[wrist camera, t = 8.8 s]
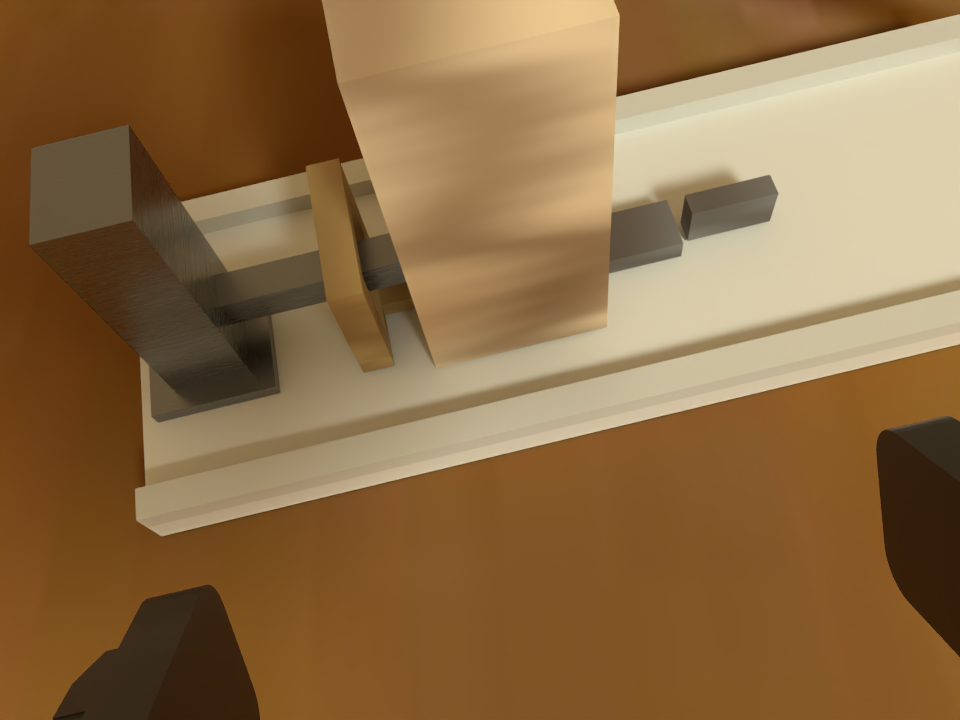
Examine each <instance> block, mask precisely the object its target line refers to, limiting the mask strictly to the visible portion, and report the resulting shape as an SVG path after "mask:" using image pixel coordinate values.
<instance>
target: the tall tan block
mask: <svg viewBox="0 0 960 720" xmlns="http://www.w3.org/2000/svg"><path fill="white" fill-rule="evenodd" d="M322 4H323V9H324V14H325V19H326V25H327V30H328V35H329V41H330V46H331V51H332V57H333V62H334V67H335V73H336V78H337V83H338V86H339V89H340V92H341V95H342V98H343V101H344V104H345V106H346V109H347V112H348V115H349V118H350V121H351V124H352V127H353V130H354V132H355V135H356V138H357V141H358V144H359V147H360V150H361V153H362V156H363V158H364V161H365V164H366V167H367V170H368V173H369V176H370V179H371V182H372V184H373V187H374V190H375V193H376V196H377V199H378V202H379V205H380V208H381V210H382V213H383V216H384V219H385V222H386V225H387V228H388V231H389V233H390V236H391V239H392V242H393V245H394V248H395V251H396V254H397V257H398V259H399V262H400V265H401V268H402V271H403V274H404V277H405V280H406V283H402V284H398V285H394V286H389V287H385V288H381V289H377V290H373V291H368V288H367V286H366V284H365V281H364V279H363V275H362V269H361V264H360V258H359V253H358V247H357V242H356V241H359V240H363V239H367V238H369V236H368V233H367V231H366V228H365V225H364V223H363V220H362V218H361V215H360V212H359V210H358V207H357V205H356V202H355V199H354V197H353V194H352V192H351V189H350V186H349V184H348V181H347V179H346V176H345V173H344V171H343V168H342V166H341V163H340V160H339V158H337V159H333V160H329V161H325V162H321V163H317V164H312V165H308V166H306V172H307V179H308V185H309V191H310V198H311V204H312V211H313V217H314V223H315V230H316V236H317V242H318V249H319V255H320V262H321V268H322V274H323V281H324V287H325V293H326V300H327V303H328V305H329V307H330V309H331V311H332V313H333V315H334V317H335V318H336V320H337V322H338V324H339V326H340V328H341V330H342V332H343V334H344V336H345V338H346V340H347V342H348V344H349V345H350V347H351V349H352V351H353V353H354V355H355V357H356V359H357V361H358V363H359V365H360V367H361V369H362V371H363V372H364V373H366V372H370V371H374V370H378V369H382V368H387V367H391V366H395V364H394V359H393V354H392V349H391V343H390V338H389V333H388V328H387V322H386V317H385V315H388V314H392V313H396V312H400V311H404V310H409V309H413V308H415V309H416V311H417V314H418V317H419V320H420V323H421V326H422V329H423V332H424V335H425V337H426V340H427V343H428V346H429V349H430V352H431V355H432V358H433V361H434V363H435V366H436V368H440V367H444V366H448V365H452V364H456V363H460V362H465V361H469V360H473V359H477V358H481V357H485V356H490V355H494V354H498V353H502V352H506V351H510V350H514V349H519V348H523V347H527V346H531V345H535V344H539V343H543V342H548V341H552V340H556V339H560V338H564V337H568V336H573V335H577V334H581V333H585V332H589V331H593V330H597V329H602V328H606V327H607V309H608V284H609V273H613V272H618V271H622V270H626V269H630V268H634V267H638V266H642V265H647V264H651V263H655V262H659V261H663V260H667V259H672V258H676V257H680V256H681V254H682V249H683V241H682V238H681V236H680V233H679V230H678V228H677V225H676V223H675V220H674V217H673V215H672V212H671V210H670V207H669V204H668V202H667V200H663V201H659V202H655V203H651V204H647V205H642V206H638V207H634V208H630V209H626V210H622V211H617V212H613V213H611V212H612V188H613V163H614V139H615V115H616V91H617V67H618V42H619V18H620V15H619V13H618V10H617V8H616V5H615V3H614V0H322ZM777 197H778V191H777V189H776V187H775V184H774V182H773V180H772V178H771V176H770V175H766V176H762V177H758V178H754V179H750V180H745V181H741V182H737V183H733V184H729V185H725V186H721V187H716V188H712V189H708V190H704V191H700V192H696V193H691V194H687V195H685V198H684V204H683V210H682V216H681V225H682V228H683V230H684V233H685V235H686V238H687V241H690V240H694V239H698V238H702V237H706V236H710V235H714V234H719V233H723V232H727V231H731V230H735V229H739V228H744V227H748V226H752V225H756V224H760V223H764V222H768V221H770V219H771V216H772V212H773V209H774V206H775V203H776V200H777Z"/></svg>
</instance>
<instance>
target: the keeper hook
mask: <svg viewBox="0 0 960 720" xmlns="http://www.w3.org/2000/svg"><path fill="white" fill-rule="evenodd" d="M356 242H357V247H358V253H359V258H360V264H361V269H362V275H363V279H364V281H365V284H366V286H367V288H368V291H373V290H377V289H381V288H385V287H389V286H394V285H398V284H402V283H406V280H405V277H404V274H403V271H402V268H401V265H400V262H399V259H398V257H397V254H396V251H395V248H394V245H393V242H392V239H391V236H390V233H388V234H384V235H379V236H375V237H371V238H367V239H363V240H359V241H356ZM29 246H30V247H31V248H32V249H33V250H34V251H35V252H36V253H37V254H38V255H39V256H40V257H41V258H42V259H43V260H44V261H45V262H46V263H47V264H48V265H49V266H50V267H51V268H52V269H53V270H54V271H55V272H56V273H57V274H58V275H59V276H60V277H61V278H62V279H63V280H64V281H65V282H66V283H67V284H68V285H69V286H70V287H71V288H72V289H73V290H74V291H75V292H76V293H77V294H78V295H79V296H80V297H81V298H82V299H83V300H84V301H85V302H86V303H87V304H88V305H89V306H90V307H91V308H92V309H93V310H94V311H95V312H96V313H97V314H98V315H99V316H100V317H101V318H102V319H103V320H104V321H105V322H106V323H107V324H108V325H109V326H110V327H111V328H112V329H113V330H114V331H115V332H116V333H117V334H118V335H119V336H120V337H121V338H122V339H123V340H124V341H125V342H126V343H127V344H128V345H129V346H130V347H131V348H132V349H133V350H134V351H135V352H136V353H137V354H138V355H139V356H140V357H141V358H142V359H143V360H144V361H145V362H146V363H147V364H148V365H149V378H150V399H151V417H152V418H154V419H155V420H156V421H157V422H158V423H159V422H163V421H167V420H171V419H175V418H179V417H184V416H188V415H192V414H196V413H200V412H204V411H208V410H213V409H217V408H221V407H225V406H229V405H233V404H237V403H242V402H246V401H250V400H254V399H258V398H262V397H267V396H271V395H275V394H279V393H281V392H280V383H279V375H278V367H277V359H276V351H275V343H274V334H273V326H272V318H271V315H273V314H277V313H281V312H286V311H290V310H294V309H298V308H302V307H306V306H310V305H315V304H319V303H323V302H327V300H326V293H325V287H324V281H323V274H322V268H321V262H320V255H319V250H317V251H313V252H309V253H305V254H301V255H296V256H292V257H288V258H284V259H280V260H276V261H271V262H267V263H263V264H259V265H255V266H251V267H247V268H242V269H238V270H234V271H230V272H228V271H227V270H226V268H225V267H224V265H223V264H222V262H221V261H220V259H219V258H218V256H217V255H216V253H215V252H214V250H213V249H212V247H211V246H210V244H209V243H208V241H207V240H206V238H205V237H204V235H203V234H202V232H201V231H200V230H199V228H198V227H197V225H196V224H195V222H194V221H193V219H192V218H191V216H190V215H189V213H188V212H187V210H186V209H185V207H184V206H183V204H182V203H181V201H180V200H179V198H178V197H177V195H176V194H175V192H174V191H173V190H172V188H171V187H170V185H169V184H168V182H167V181H166V179H165V178H164V176H163V175H162V173H161V172H160V170H159V169H158V167H157V166H156V164H155V163H154V161H153V160H152V158H151V157H150V155H149V154H148V152H147V151H146V149H145V148H144V147H143V145H142V144H141V142H140V141H139V139H138V138H137V136H136V135H135V133H134V132H133V130H132V129H131V127H130V126H129V124H128V125H124V126H120V127H116V128H112V129H108V130H103V131H99V132H95V133H91V134H87V135H83V136H78V137H74V138H70V139H66V140H62V141H58V142H54V143H49V144H45V145H41V146H37V147H33V148H31V177H30V220H29Z"/></svg>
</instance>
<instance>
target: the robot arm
mask: <svg viewBox="0 0 960 720" xmlns="http://www.w3.org/2000/svg"><path fill="white" fill-rule="evenodd" d="M876 451H877V464H878V476H879V487H880V498H881V510H882V521H883V532H884V543H885V551H886V556H887V560H888V563H889V567H890V569H891V572H892V575H893V577H894V579H895V581H896V583H897V585H898V587H899V589H900V591H901V592H902V594H903V595H904V597H905V598H906V599H907V601H908V602H909V603H910V604H911V605H912V606H913V607H914V608H915V609H916V610H917V611H918V612H919V614H920V615H921V616H922V617H923V618H924V619H925V620H926V621H927V622H928V623H929V624H930V625H931V626H932V628H933V629H934V630H935V631H936V632H937V633H938V634H939V635H940V636H941V637H942V638H943V639H944V640H945V642H946V643H947V644H948V645H949V646H950V647H951V648H952V649H953V650H954V651H955V652H956V653H957V654H958V655H959V657H960V422H959V421H958V420H956V419H954V418H952V417H949V416H944V417H939V418H935V419H931V420H926V421H922V422H918V423H913V424H909V425H905V426H900V427H896V428H892V429H887V430H884V431H882V432H881V433H880V435H879V437H878V440H877V448H876ZM53 720H260V715H259V708H258V703H257V698H256V694H255V691H254V688H253V685H252V682H251V679H250V677H249V674H248V671H247V668H246V666H245V663H244V660H243V657H242V655H241V652H240V649H239V646H238V643H237V641H236V638H235V635H234V632H233V630H232V627H231V624H230V621H229V619H228V616H227V613H226V610H225V607H224V605H223V602H222V600H221V598H220V596H219V594H218V592H217V591H216V589H215V588H214V587H212V586H211V585H204V586H200V587H196V588H191V589H187V590H183V591H178V592H174V593H170V594H165V595H161V596H157V597H152V598H148V599H146V600H145V601H144V602H143V603H142V604H141V606H140V608H139V610H138V612H137V614H136V615H135V617H134V619H133V621H132V623H131V625H130V627H129V629H128V631H127V633H126V635H125V637H124V638H123V640H122V642H121V644H120V646H119V648H118V649H114V650H109V651H106V652H105V653H104V654H103V655H102V656H101V657H100V658H99V659H98V660H97V661H96V662H95V663H93V664H92V665H91V666H90V667H89V668H88V669H87V670H86V671H85V672H84V673H83V674H82V675H81V676H80V677H79V678H78V679H77V680H76V681H75V682H74V683H73V684H72V685H71V687H70V689H69V691H68V692H67V694H66V696H65V698H64V699H63V701H62V703H61V705H60V707H59V708H58V710H57V712H56V714H55V715H54V717H53Z"/></svg>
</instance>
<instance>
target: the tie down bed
mask: <svg viewBox="0 0 960 720" xmlns="http://www.w3.org/2000/svg"><path fill="white" fill-rule="evenodd" d="M341 166H342V168H343V171H344V173H345V176H346V179H347V181H348V184H349V186H350V189H351V192H352V194H353V197H354V199H355V202H356V205H357V207H358V210H359V212H360V215H361V218H362V220H363V223H364V225H365V228H366V231H367V233H368V236H369V238H371V237H375V236H379V235H384V234H388V233H389V231H388V228H387V225H386V222H385V219H384V216H383V213H382V210H381V208H380V205H379V202H378V199H377V196H376V193H375V190H374V187H373V184H372V182H371V179H370V176H369V173H368V170H367V167H366V164H365V161H364V158H362V159H357V160H353V161H349V162H345V163H341ZM766 175H770V176H771V178H772V180H773V182H774V184H775V187H776V189H777V191H778V197H777V200H776V203H775V206H774V209H773V212H772V216H771V219H770V221H768V222H764V223H760V224H756V225H752V226H748V227H744V228H739V229H735V230H731V231H727V232H723V233H719V234H714V235H710V236H706V237H702V238H698V239H694V240H690V241H687V238H686V235H685V233H684V230H683V228H682V225H681V216H682V210H683V204H684V198H685V195H687V194H691V193H696V192H700V191H704V190H708V189H712V188H716V187H721V186H725V185H729V184H733V183H737V182H741V181H745V180H750V179H754V178H758V177H762V176H766ZM663 200H667V202H668V204H669V207H670V210H671V212H672V215H673V217H674V220H675V223H676V225H677V228H678V230H679V233H680V236H681V238H682V241H683V249H682V254H681V256H680V257H676V258H672V259H667V260H663V261H659V262H655V263H651V264H647V265H642V266H638V267H634V268H630V269H626V270H622V271H618V272H613V273H609V284H608V309H607V327H606V328H602V329H597V330H593V331H589V332H585V333H581V334H577V335H573V336H568V337H564V338H560V339H556V340H552V341H548V342H543V343H539V344H535V345H531V346H527V347H523V348H519V349H514V350H510V351H506V352H502V353H498V354H494V355H490V356H485V357H481V358H477V359H473V360H469V361H465V362H460V363H456V364H452V365H448V366H444V367H440V368H436V366H435V363H434V361H433V358H432V355H431V352H430V349H429V346H428V343H427V340H426V337H425V335H424V332H423V329H422V326H421V323H420V320H419V317H418V314H417V311H416V309H415V308H413V309H409V310H404V311H400V312H396V313H392V314H388V315H385V317H386V322H387V328H388V333H389V338H390V343H391V349H392V354H393V359H394V364H395V366H391V367H387V368H382V369H378V370H374V371H370V372H366V373H364V372H363V371H362V369H361V367H360V365H359V363H358V361H357V359H356V357H355V355H354V353H353V351H352V349H351V347H350V345H349V344H348V342H347V340H346V338H345V336H344V334H343V332H342V330H341V328H340V326H339V324H338V322H337V320H336V318H335V317H334V315H333V313H332V311H331V309H330V307H329V305H328V303H327V302H323V303H319V304H315V305H310V306H306V307H302V308H298V309H294V310H290V311H286V312H281V313H277V314H273V315H271V318H272V326H273V334H274V343H275V351H276V359H277V367H278V375H279V383H280V392H281V393H279V394H275V395H271V396H267V397H262V398H258V399H254V400H250V401H246V402H242V403H237V404H233V405H229V406H225V407H221V408H217V409H213V410H208V411H204V412H200V413H196V414H192V415H188V416H184V417H179V418H175V419H171V420H167V421H163V422H159V423H158V422H157V421H156V420H155V419H154V418H152V417H151V399H150V378H149V365H148V364H147V363H146V362H145V361H144V360H143V359H142V358H141V357H140V370H141V393H142V416H143V439H144V462H145V486H144V487H140V488H136V489H135V503H136V521H138V522H139V523H141V524H142V525H144V526H146V527H147V528H149V529H150V530H152V531H154V532H155V533H157V534H158V535H160V536H165V535H169V534H173V533H177V532H182V531H186V530H190V529H194V528H198V527H202V526H207V525H211V524H215V523H219V522H223V521H227V520H231V519H236V518H240V517H244V516H248V515H252V514H256V513H261V512H265V511H269V510H273V509H277V508H281V507H285V506H290V505H294V504H298V503H302V502H306V501H310V500H315V499H319V498H323V497H327V496H331V495H335V494H339V493H344V492H348V491H352V490H356V489H360V488H364V487H368V486H373V485H377V484H381V483H385V482H389V481H393V480H398V479H402V478H406V477H410V476H414V475H418V474H422V473H427V472H431V471H435V470H439V469H443V468H447V467H452V466H456V465H460V464H464V463H468V462H472V461H476V460H481V459H485V458H489V457H493V456H497V455H501V454H506V453H510V452H514V451H518V450H522V449H526V448H530V447H535V446H539V445H543V444H547V443H551V442H555V441H559V440H564V439H568V438H572V437H576V436H580V435H584V434H589V433H593V432H597V431H601V430H605V429H609V428H613V427H618V426H622V425H626V424H630V423H634V422H638V421H643V420H647V419H651V418H655V417H659V416H663V415H667V414H672V413H676V412H680V411H684V410H688V409H692V408H697V407H701V406H705V405H709V404H713V403H717V402H721V401H726V400H730V399H734V398H738V397H742V396H746V395H750V394H755V393H759V392H763V391H767V390H771V389H775V388H780V387H784V386H788V385H792V384H796V383H800V382H804V381H809V380H813V379H817V378H821V377H825V376H829V375H834V374H838V373H842V372H846V371H850V370H854V369H858V368H863V367H867V366H871V365H875V364H879V363H883V362H888V361H892V360H896V359H900V358H904V357H908V356H912V355H917V354H921V353H925V352H929V351H933V350H937V349H941V348H946V347H950V346H954V345H958V344H960V15H955V16H951V17H947V18H943V19H939V20H934V21H930V22H926V23H922V24H918V25H914V26H910V27H905V28H901V29H897V30H893V31H889V32H885V33H881V34H876V35H872V36H868V37H864V38H860V39H856V40H851V41H847V42H843V43H839V44H835V45H831V46H827V47H822V48H818V49H814V50H810V51H806V52H802V53H797V54H793V55H789V56H785V57H781V58H777V59H773V60H768V61H764V62H760V63H756V64H752V65H748V66H744V67H739V68H735V69H731V70H727V71H723V72H719V73H714V74H710V75H706V76H702V77H698V78H694V79H690V80H685V81H681V82H677V83H673V84H669V85H665V86H660V87H656V88H652V89H648V90H644V91H640V92H636V93H631V94H627V95H623V96H619V97H616V115H615V139H614V163H613V188H612V212H611V213H613V212H617V211H622V210H626V209H630V208H634V207H638V206H642V205H647V204H651V203H655V202H659V201H663ZM181 203H182V204H183V206H184V207H185V209H186V210H187V212H188V213H189V215H190V216H191V218H192V219H193V221H194V222H195V224H196V225H197V227H198V228H199V230H200V231H201V232H202V234H203V235H204V237H205V238H206V240H207V241H208V243H209V244H210V246H211V247H212V249H213V250H214V252H215V253H216V255H217V256H218V258H219V259H220V261H221V262H222V264H223V265H224V267H225V268H226V270H227V271H228V272H230V271H234V270H238V269H242V268H247V267H251V266H255V265H259V264H263V263H267V262H271V261H276V260H280V259H284V258H288V257H292V256H296V255H301V254H305V253H309V252H313V251H317V250H319V249H318V242H317V236H316V230H315V223H314V217H313V211H312V204H311V198H310V191H309V185H308V179H307V172H303V173H299V174H295V175H291V176H287V177H283V178H279V179H274V180H270V181H266V182H262V183H258V184H254V185H250V186H245V187H241V188H237V189H233V190H229V191H225V192H220V193H216V194H212V195H208V196H204V197H200V198H196V199H191V200H187V201H183V202H181Z"/></svg>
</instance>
